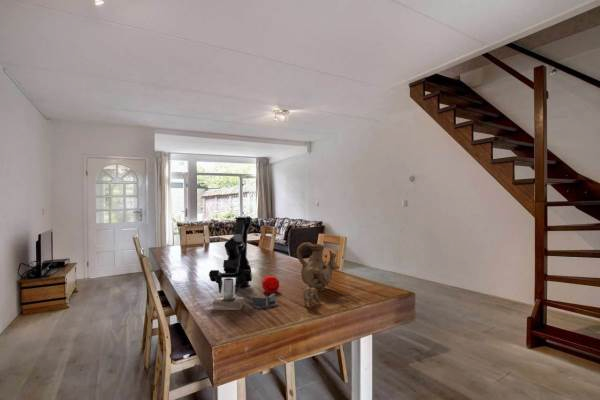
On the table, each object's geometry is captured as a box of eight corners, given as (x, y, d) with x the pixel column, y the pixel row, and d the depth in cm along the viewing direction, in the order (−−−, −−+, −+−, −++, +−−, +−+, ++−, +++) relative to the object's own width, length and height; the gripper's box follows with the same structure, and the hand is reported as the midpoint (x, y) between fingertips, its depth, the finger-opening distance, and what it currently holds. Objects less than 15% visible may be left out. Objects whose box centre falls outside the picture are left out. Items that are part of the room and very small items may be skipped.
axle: (229, 304, 137) (229, 277, 137) (235, 306, 134) (235, 279, 135) (222, 306, 134) (222, 279, 135) (227, 309, 132) (227, 281, 132)
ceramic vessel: (317, 297, 148) (317, 245, 148) (290, 289, 161) (290, 242, 162) (340, 289, 161) (340, 242, 162) (313, 283, 174) (313, 239, 175)
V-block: (248, 302, 140) (248, 293, 140) (270, 299, 145) (270, 290, 145) (255, 309, 131) (255, 299, 131) (279, 305, 136) (279, 296, 136)
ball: (264, 294, 152) (264, 279, 152) (261, 290, 160) (261, 275, 160) (280, 293, 155) (280, 278, 155) (276, 289, 162) (276, 274, 163)
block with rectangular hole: (217, 304, 138) (217, 297, 138) (243, 303, 138) (243, 297, 138) (212, 309, 131) (212, 302, 131) (240, 309, 131) (240, 302, 131)
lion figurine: (312, 310, 130) (312, 289, 130) (300, 309, 131) (300, 288, 131) (320, 299, 144) (319, 280, 144) (309, 298, 145) (309, 280, 146)
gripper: (210, 252, 139) (202, 283, 127) (251, 252, 139) (246, 282, 128) (214, 266, 146) (207, 296, 135) (253, 266, 146) (250, 296, 135)
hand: (227, 292), depth 133 cm, fingers open, 7 cm apart
